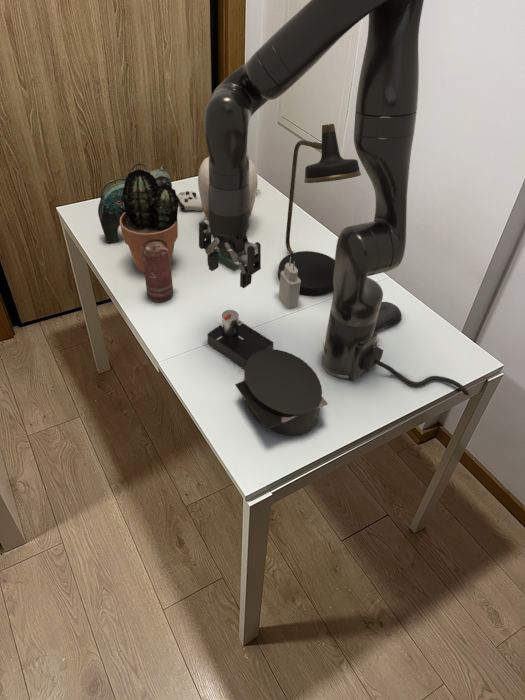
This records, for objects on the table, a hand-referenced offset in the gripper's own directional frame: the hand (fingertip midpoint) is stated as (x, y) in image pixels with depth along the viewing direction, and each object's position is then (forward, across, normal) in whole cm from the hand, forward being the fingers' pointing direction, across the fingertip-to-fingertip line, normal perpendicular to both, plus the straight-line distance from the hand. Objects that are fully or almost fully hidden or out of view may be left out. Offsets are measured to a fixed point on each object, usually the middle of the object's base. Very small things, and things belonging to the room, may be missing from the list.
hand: (229, 277), depth 108 cm
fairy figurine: (+15, +41, -50) cm, 66 cm away
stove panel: (+15, -5, +2) cm, 16 cm away
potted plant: (+15, +32, -6) cm, 36 cm away
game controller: (+15, +47, -34) cm, 60 cm away
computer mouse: (+16, -23, -26) cm, 38 cm away
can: (+16, +21, +1) cm, 26 cm away
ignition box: (+15, +19, -22) cm, 33 cm away
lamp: (+16, +1, -30) cm, 34 cm away
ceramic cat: (+15, +45, -13) cm, 49 cm away
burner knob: (+12, -2, +2) cm, 13 cm away
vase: (+15, +31, -34) cm, 48 cm away
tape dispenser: (+16, -21, +8) cm, 27 cm away
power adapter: (+16, -2, -18) cm, 24 cm away
